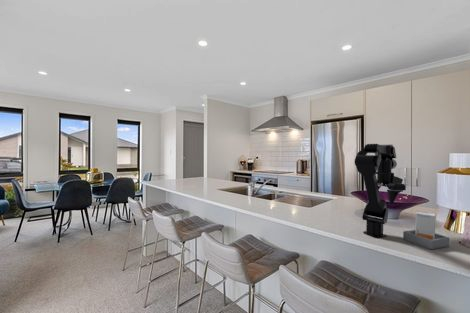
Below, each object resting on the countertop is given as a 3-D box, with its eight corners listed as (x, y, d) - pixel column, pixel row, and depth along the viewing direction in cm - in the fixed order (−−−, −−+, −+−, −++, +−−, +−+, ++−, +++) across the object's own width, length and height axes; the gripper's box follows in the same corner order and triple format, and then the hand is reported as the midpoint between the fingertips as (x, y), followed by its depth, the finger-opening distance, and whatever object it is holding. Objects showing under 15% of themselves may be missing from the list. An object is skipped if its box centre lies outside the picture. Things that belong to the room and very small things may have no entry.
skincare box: (414, 241, 90) (415, 212, 90) (415, 238, 93) (416, 210, 93) (434, 246, 86) (435, 215, 86) (435, 242, 89) (435, 213, 89)
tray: (431, 249, 83) (432, 240, 83) (403, 239, 93) (403, 231, 93) (448, 246, 86) (449, 237, 86) (419, 236, 96) (419, 228, 96)
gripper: (417, 171, 98) (416, 206, 98) (383, 168, 116) (383, 197, 117) (394, 171, 96) (394, 206, 97) (364, 168, 115) (364, 198, 115)
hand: (383, 202), depth 106 cm, fingers open, 9 cm apart
